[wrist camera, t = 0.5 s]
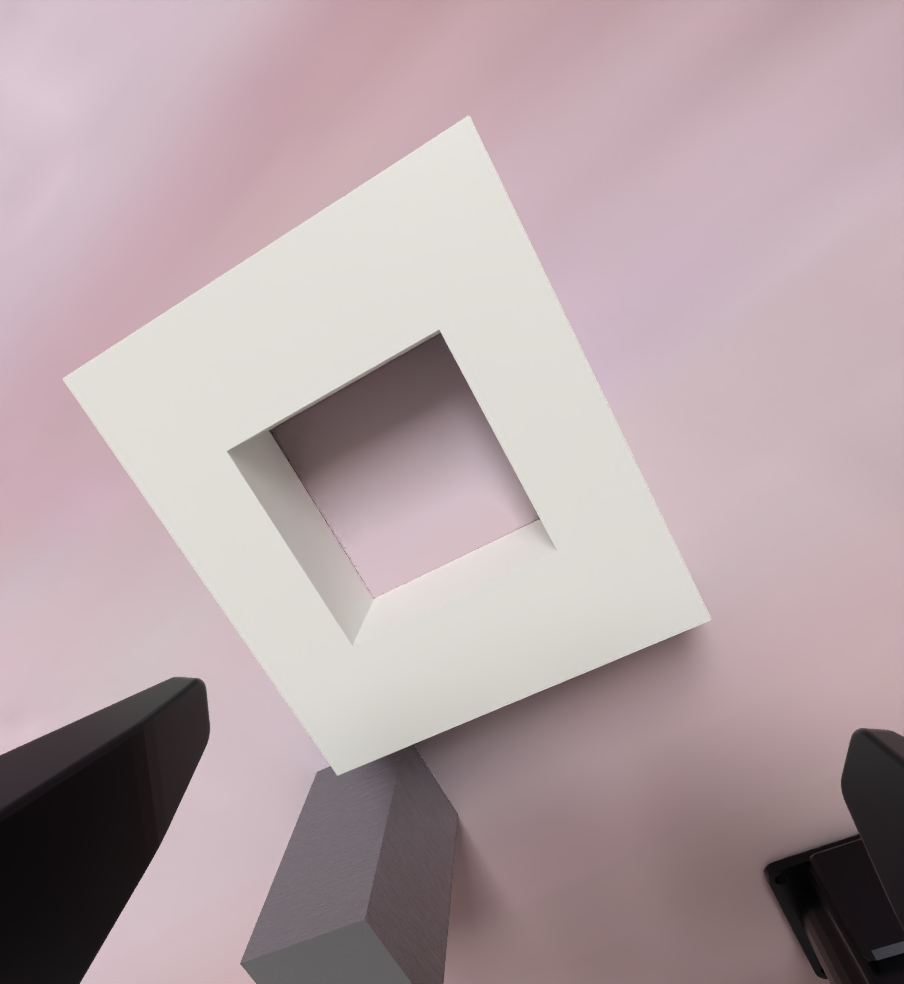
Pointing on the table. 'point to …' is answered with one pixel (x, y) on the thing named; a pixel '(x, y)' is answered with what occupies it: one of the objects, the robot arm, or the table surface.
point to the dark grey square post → (362, 881)
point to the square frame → (336, 364)
